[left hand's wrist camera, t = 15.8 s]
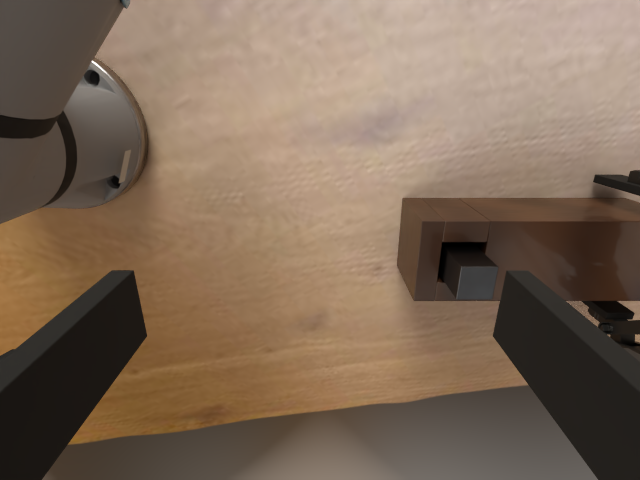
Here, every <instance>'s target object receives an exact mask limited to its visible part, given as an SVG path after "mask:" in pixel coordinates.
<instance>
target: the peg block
mask: <svg viewBox="0 0 640 480" xmlns="http://www.w3.org/2000/svg"><path fill="white" fill-rule="evenodd" d="M442 242H472V243H473V244H475V245H476V246H477V247H478V248H479V249H480V250H481V251H482V252H483V253H484V254H485V255H486V256H487V257H488V258H490V259H491V260H492V261H493V262H494V263H495V264H496V265H497V266H498V267H499V268H498V273H497V278H496V283H495V288H494V293H493V298H492V300H477V301H500V299H501V294H502V289H503V285H504V280H505V275H506V270H528V271H529V272H531V273H532V274H533V275H534V276H536V277H537V278H538V279H539V280H540V281H542V282H543V283H544V284H545V285H547V286H548V287H549V288H550V289H551V290H553V291H554V292H555V293H556V294H558V295H559V296H560V297H561V298H562V299H564V300H565V301H640V203H639V202H635V201H632V200H629V199H626V198H422V199H421V198H403V201H402V213H401V224H400V236H399V248H398V260H397V266H398V268H399V270H400V273H401V275H402V277H403V279H404V281H405V283H406V285H407V287H408V290H409V292H410V294H411V296H412V298H413V300H414V301H434V300H435V301H476V300H457V299H456V298H455V297H454V295H453V294H452V292H451V291H450V289H449V288H448V286H447V285H446V284H445V282H444V281H443V279H442V278H441V276H440V275H439V273H438V270H439V262H440V254H441V247H442Z"/></svg>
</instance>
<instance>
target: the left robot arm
mask: <svg viewBox="0 0 640 480" xmlns="http://www.w3.org/2000/svg"><path fill="white" fill-rule="evenodd" d="M129 4H130V0H0V224H1V223H4V222H6V221H9V220H11V219H14V218H16V217H19V216H21V215H24V214H26V213H29V212H32V211H34V210H36V209H39V208H41V207H47V208H74V209H76V208H78V209H79V208H90V207H95V206H99V205H102V204H104V203H107V202H109V201H111V200H113V199H115V198H117V197H119V196H121V195H122V194H124V193H125V192H126V191H128V190H129V189H130V188H131V187H132V186H133V185H134V183H135V182H136V181H137V179H138V178H139V176H140V174H141V172H142V170H143V168H144V165H145V161H146V157H147V148H148V138H147V130H146V125H145V121H144V118H143V115H142V112H141V110H140V107H139V105H138V103H137V101H136V99H135V98H134V96H133V94H132V93H131V91H130V90H129V89H128V87H127V86H126V84H125V83H124V82H123V81H122V80H121V79H120V78H119V77H118V76H117V75H116V74H115V73H114V72H113V71H112V70H111V69H110V68H109V67H107V66H106V65H105V64H103V63H102V62H101V61H99V60H98V59H96V58H94V57H95V55H96V53H97V52H98V50H99V48H100V47H101V45H102V43H103V42H104V40H105V38H106V36H107V35H108V33H109V31H110V30H111V28H112V26H113V25H114V23H115V21H116V19H117V18H118V16H119V14H120V13H121V11H122V9H123V8H124V7H125V8H126V9H127V8H128V6H129ZM146 337H147V333H146V328H145V323H144V319H143V314H142V309H141V304H140V299H139V294H138V289H137V285H136V280H135V275H134V270H112V271H111V272H109V273H108V274H107V275H106V276H104V277H103V278H102V279H101V280H100V281H98V282H97V283H96V284H95V285H93V286H92V287H91V288H90V289H89V290H87V291H86V292H85V293H84V294H82V295H81V296H80V297H79V298H78V299H76V300H75V301H74V302H73V303H71V304H70V305H69V306H68V307H67V308H65V309H64V310H63V311H62V312H60V313H59V314H58V315H57V316H56V317H54V318H53V319H52V320H51V321H49V322H48V323H47V324H46V325H45V326H43V327H42V328H41V329H40V330H38V331H37V332H36V333H35V334H34V335H32V336H31V337H30V338H29V339H27V340H26V341H25V342H24V343H22V344H21V345H20V346H19V347H18V348H16V349H12V350H10V351H8V352H7V353H5V354H3V355H1V356H0V480H42V479H43V477H44V476H45V474H46V473H47V472H48V470H49V469H50V468H51V466H52V465H53V464H54V462H55V461H56V459H57V458H58V457H59V455H60V454H61V453H62V451H63V450H64V449H65V447H66V446H67V445H68V443H69V442H70V440H71V439H72V438H73V436H74V435H75V434H76V432H77V431H78V430H79V428H80V427H81V425H82V424H83V423H84V421H85V420H86V419H87V417H88V416H89V415H90V413H91V412H92V410H93V409H94V408H95V406H96V405H97V404H98V402H99V401H100V400H101V398H102V397H103V395H104V394H105V393H106V391H107V390H108V389H109V387H110V386H111V385H112V383H113V382H114V380H115V379H116V378H117V376H118V375H119V374H120V372H121V371H122V370H123V368H124V367H125V365H126V364H127V363H128V361H129V360H130V359H131V357H132V356H133V355H134V353H135V352H136V350H137V349H138V348H139V346H140V345H141V344H142V342H143V341H144V340H145V338H146ZM493 337H494V338H495V340H496V341H497V342H498V344H499V345H500V346H501V348H502V349H503V350H504V352H505V353H506V355H507V356H508V357H509V359H510V360H511V361H512V363H513V364H514V365H515V367H516V368H517V370H518V371H519V372H520V374H521V375H522V376H523V378H524V379H525V380H526V382H527V383H528V385H529V386H530V387H531V389H532V390H533V391H534V393H535V394H536V395H537V397H538V398H539V400H540V401H541V402H542V404H543V405H544V406H545V408H546V409H547V410H548V412H549V413H550V415H551V416H552V417H553V419H554V420H555V421H556V423H557V424H558V425H559V427H560V428H561V429H562V431H563V432H564V434H565V435H566V436H567V438H568V439H569V440H570V442H571V443H572V444H573V446H574V447H575V449H576V450H577V451H578V453H579V454H580V455H581V457H582V458H583V460H584V461H585V462H586V464H587V465H588V466H589V468H590V469H591V470H592V472H593V473H594V474H595V476H596V477H597V479H598V480H640V354H638V353H636V352H634V351H633V350H631V349H629V348H622V347H621V346H620V345H619V344H618V343H616V342H615V341H614V340H613V339H611V338H610V337H609V336H608V335H606V334H605V333H604V332H603V331H602V330H600V329H599V328H598V327H597V326H595V325H594V324H593V323H592V322H591V321H589V320H588V319H587V318H586V317H584V316H583V315H582V314H581V313H580V312H578V311H577V310H576V309H575V308H573V307H572V306H571V305H570V304H569V303H567V302H566V301H565V300H564V299H562V298H561V297H560V296H559V295H558V294H556V293H555V292H554V291H553V290H551V289H550V288H549V287H548V286H547V285H545V284H544V283H543V282H542V281H540V280H539V279H538V278H537V277H536V276H534V275H533V274H532V273H531V272H529V271H528V270H506V275H505V280H504V285H503V289H502V294H501V299H500V304H499V309H498V314H497V319H496V323H495V328H494V333H493Z"/></svg>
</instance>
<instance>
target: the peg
mask: <svg viewBox="0 0 640 480" xmlns="http://www.w3.org/2000/svg"><path fill="white" fill-rule="evenodd" d="M498 268H499V267H498V266H497V265H496V264H495V263H494V262H493V261H492V260H491V259H490V258H488V257H487V256H486V255H485V254H484V253H483V252H482V251H481V250H480V249H479V248H478V247H477V246H476V245H475V244H473V243H472V242H442V247H441V254H440V262H439V270H438V273H439V275H440V276H441V278H442V279H443V281H444V282H445V284H446V285H447V286H448V288H449V289H450V291H451V292H452V294H453V295H454V297H455V298H456V299H457V300H492V298H493V293H494V288H495V283H496V278H497V273H498Z"/></svg>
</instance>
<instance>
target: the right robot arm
mask: <svg viewBox="0 0 640 480" xmlns="http://www.w3.org/2000/svg"><path fill="white" fill-rule="evenodd" d="M593 182H595V183H598V184H602V185H605V186H609V187H612V188H615V189H619V190H622V191H626V192H629V193H632V194H636V195H639V196H640V170H635V171H630V174H629V177H628V176H624V175H595V178H594V181H593ZM582 302H583V303H584V304H586V305H587V306H588V307H589V309H588V312H589V313H590V315H591V316H592V317H594V318H595V319H596V320H598V321H599V322H600V323H599V325H598V328H599V329H600V330H602V331H603V332H604V333H605V334H610V338H611V339H613V340H614V341H615V342H616V343H618V344H619V345H620V346H621V347H622V348H629V349H631V350H633V351H634V352H636V353H638V354H640V343H639V342H635V334H640V320H633V321H628V320H627V319H633V316H634V312H632V311H631V310H629V309H628V308H626V307H625V306H623V305H622V304H620V303H619V302H617V301H582Z"/></svg>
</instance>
